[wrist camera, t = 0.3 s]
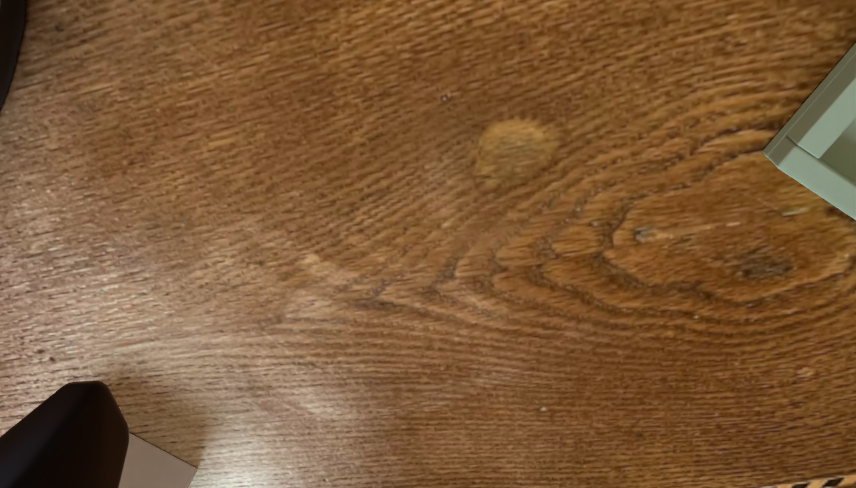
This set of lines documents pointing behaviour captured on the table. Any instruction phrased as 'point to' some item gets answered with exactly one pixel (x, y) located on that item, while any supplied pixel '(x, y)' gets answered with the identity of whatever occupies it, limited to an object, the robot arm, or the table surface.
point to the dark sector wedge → (10, 40)
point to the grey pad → (153, 467)
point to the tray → (823, 139)
